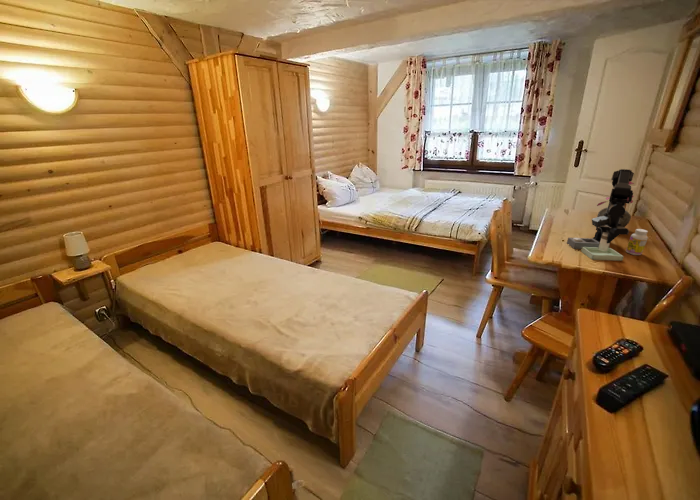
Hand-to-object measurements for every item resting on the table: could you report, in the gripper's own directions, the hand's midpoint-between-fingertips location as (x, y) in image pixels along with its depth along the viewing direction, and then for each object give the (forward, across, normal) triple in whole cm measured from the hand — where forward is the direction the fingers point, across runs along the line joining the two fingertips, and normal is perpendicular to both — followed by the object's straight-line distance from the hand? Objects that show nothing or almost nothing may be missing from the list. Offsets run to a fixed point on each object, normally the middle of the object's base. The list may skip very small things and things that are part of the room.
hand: (605, 241), depth 163 cm
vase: (+8, -48, +30) cm, 57 cm away
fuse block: (+8, -13, -3) cm, 15 cm away
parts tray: (+8, 0, 0) cm, 8 cm away
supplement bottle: (+8, -6, +19) cm, 22 cm away
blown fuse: (+4, 0, 0) cm, 5 cm away
